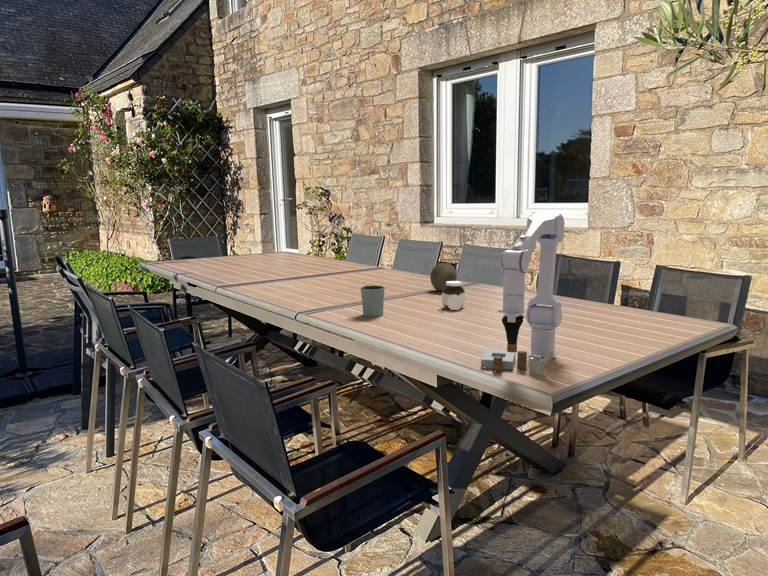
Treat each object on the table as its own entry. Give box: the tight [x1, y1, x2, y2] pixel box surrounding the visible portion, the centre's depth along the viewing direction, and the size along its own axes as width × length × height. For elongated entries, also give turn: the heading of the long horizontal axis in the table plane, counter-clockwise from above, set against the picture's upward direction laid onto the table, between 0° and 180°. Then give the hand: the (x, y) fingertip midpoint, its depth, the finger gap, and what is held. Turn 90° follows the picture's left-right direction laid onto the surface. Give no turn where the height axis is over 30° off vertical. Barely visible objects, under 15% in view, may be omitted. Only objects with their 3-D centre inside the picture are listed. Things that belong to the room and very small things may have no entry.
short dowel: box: [492, 356, 503, 373], centre depth 162 cm, size 3×3×4 cm
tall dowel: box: [506, 341, 518, 353], centre depth 157 cm, size 3×3×7 cm
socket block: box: [480, 348, 516, 371], centre depth 170 cm, size 12×9×2 cm
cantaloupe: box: [429, 262, 458, 292], centre depth 299 cm, size 14×14×15 cm
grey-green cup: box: [360, 284, 386, 318], centre depth 240 cm, size 10×10×12 cm
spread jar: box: [441, 280, 466, 311], centre depth 253 cm, size 12×11×12 cm
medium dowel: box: [516, 350, 528, 371], centre depth 164 cm, size 3×3×5 cm
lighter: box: [528, 349, 555, 377], centre depth 158 cm, size 7×2×8 cm, turn 41°
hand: (512, 342), depth 157 cm, fingers closed on tall dowel, 3 cm apart
